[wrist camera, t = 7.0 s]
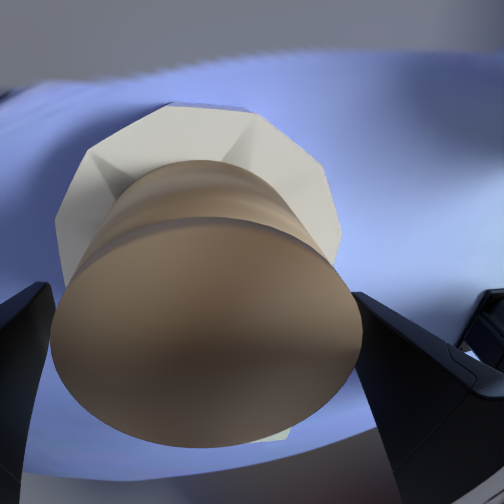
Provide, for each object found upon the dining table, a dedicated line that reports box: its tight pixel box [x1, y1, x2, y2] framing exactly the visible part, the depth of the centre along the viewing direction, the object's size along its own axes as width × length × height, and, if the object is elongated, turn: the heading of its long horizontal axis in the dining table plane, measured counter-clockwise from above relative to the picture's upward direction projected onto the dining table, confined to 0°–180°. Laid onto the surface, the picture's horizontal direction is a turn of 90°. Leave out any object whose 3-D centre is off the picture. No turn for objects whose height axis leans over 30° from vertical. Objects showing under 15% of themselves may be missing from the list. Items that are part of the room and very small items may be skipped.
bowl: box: [55, 102, 342, 288], centre depth 12 cm, size 10×10×3 cm
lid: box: [50, 160, 363, 448], centre depth 9 cm, size 7×7×5 cm
